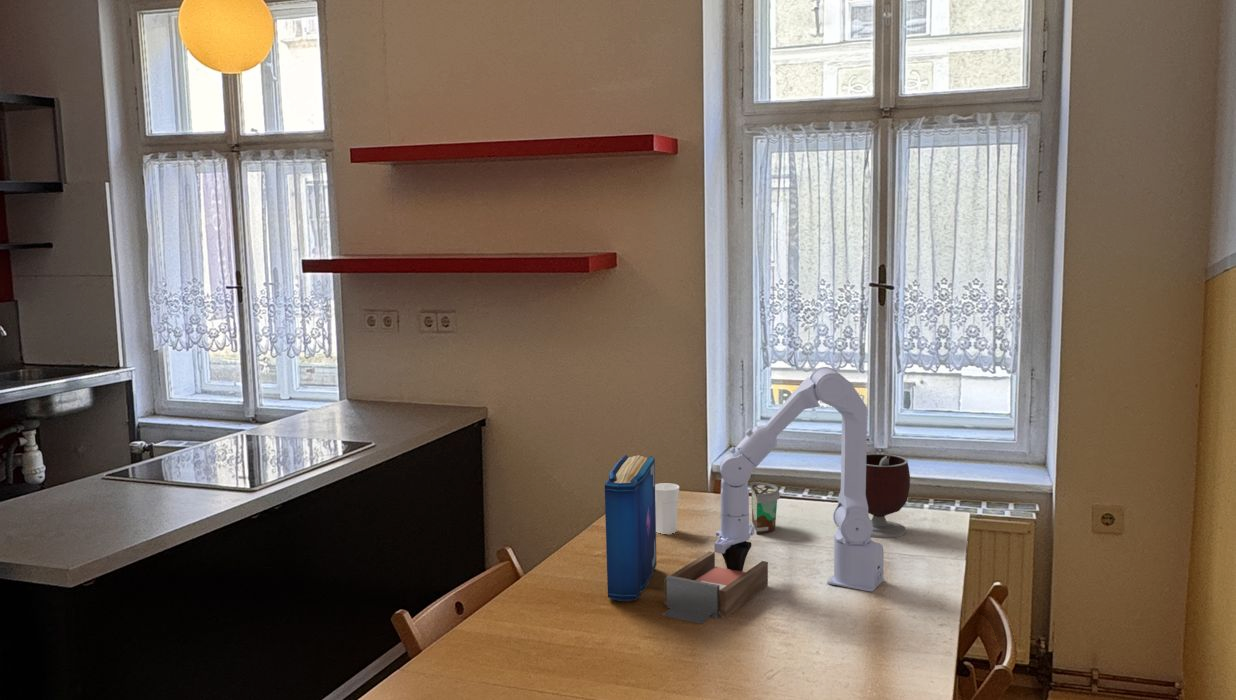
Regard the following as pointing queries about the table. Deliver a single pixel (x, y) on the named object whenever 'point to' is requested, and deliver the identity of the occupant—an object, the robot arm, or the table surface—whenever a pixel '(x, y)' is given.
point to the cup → (666, 507)
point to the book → (630, 527)
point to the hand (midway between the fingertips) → (735, 577)
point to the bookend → (692, 599)
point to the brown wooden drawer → (734, 591)
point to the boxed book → (720, 576)
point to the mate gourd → (886, 492)
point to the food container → (764, 507)
